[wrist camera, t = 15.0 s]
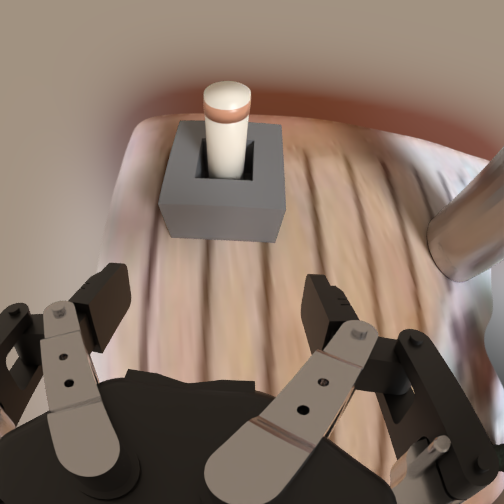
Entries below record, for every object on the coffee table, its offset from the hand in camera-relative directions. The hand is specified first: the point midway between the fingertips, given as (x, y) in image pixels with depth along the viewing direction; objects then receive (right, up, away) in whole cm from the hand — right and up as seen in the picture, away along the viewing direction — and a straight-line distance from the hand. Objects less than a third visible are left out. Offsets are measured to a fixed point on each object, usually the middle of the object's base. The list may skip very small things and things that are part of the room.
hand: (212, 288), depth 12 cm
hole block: (-1, +7, +17) cm, 18 cm away
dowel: (-1, +8, +16) cm, 18 cm away
